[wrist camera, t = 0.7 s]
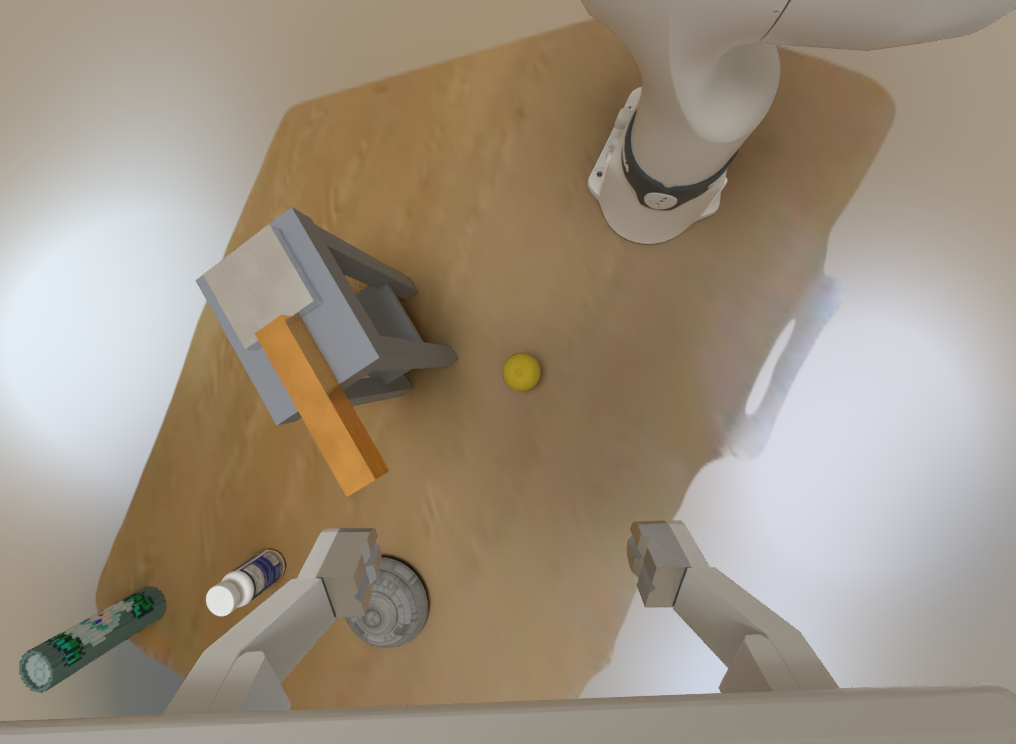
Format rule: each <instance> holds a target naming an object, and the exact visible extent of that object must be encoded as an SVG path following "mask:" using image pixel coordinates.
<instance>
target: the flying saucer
mask: <svg viewBox="0 0 1016 744" xmlns="http://www.w3.org/2000/svg"><path fill="white" fill-rule="evenodd" d="M370 586H371V590H372V596H371V599H370V602H369V605H368V608H367V612H366V615H365V616H358V617H345V618H346V620H347V622H348V624H349V626H350V628H351V629H352V631H353V632H354V633H355V634H356V635H357V636H358V637H359V638H360V639H361V640H363V641H364V642H366V643H368V644H370V645H372V646H376V647H380V648H394V647H398V646H402V645H404V644H406V643H408V642H410V641H411V640H413V639H414V638H415V637H416V636H417V635H418V634H419V633H420V631H421V630H422V628H423V626H424V624H425V621H426V618H427V613H428V601H427V596H426V592H425V589H424V587H423V585H422V583H421V581H420V580H419V578H418V577H417V575H416V574H415V573H414V572H413V571H412V570H411V569H410V568H408V567H407V566H406V565H404V564H403V563H401V562H399V561H396V560H394V559H390V558H383V557H381V563H380V569H379V573H378V576H377V579H376V580H375V581H374V582H373V583H372V584H371V585H370Z"/></svg>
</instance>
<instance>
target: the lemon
mask: <svg viewBox="0 0 1016 744" xmlns="http://www.w3.org/2000/svg"><path fill="white" fill-rule="evenodd" d="M502 374H503V379H504V381H505V383H506V384H507V385H508V386H509V387H510V388H512V389H514V390H516V391H527V390H529V389H531V388H533V387H534V386H535V385H536V384H537V383H538V381H539V379H540V374H541V370H540V366H539V363H538V362H537V360H536V359H535V358H534V357H532V356H531V355H529V354H525V353H518V354H515V355H513V356H511V357H509V358H508V359H507V360H506V362H505V364H504V366H503V371H502Z"/></svg>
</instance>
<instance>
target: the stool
mask: <svg viewBox="0 0 1016 744" xmlns="http://www.w3.org/2000/svg"><path fill="white" fill-rule="evenodd" d="M270 225H272V226H274V227H276V228H279V229H280V230H281V232H282V234H283V235H284V237H285V239H286V241H287V242H288V244H289V246H290V247H291V249H292V251H293V253H294V254H295V256H296V258H297V260H298V261H299V263H300V265H301V266H302V268H303V270H304V272H305V273H306V275H307V277H308V279H309V280H310V282H311V284H312V285H313V287H314V289H315V291H316V292H317V294H318V296H319V298H320V299H321V301H322V304H321V305H319V306H318V307H317V308H315V309H314V310H312V311H311V312H309V313H308V314H307V315H305V316H304V317H302V320H303V322H304V323H305V325H306V327H307V329H308V330H309V332H310V334H311V335H312V337H313V339H314V341H315V342H316V344H317V346H318V348H319V349H320V351H321V353H322V355H323V356H324V358H325V360H326V362H327V363H328V365H329V367H330V369H331V370H332V372H333V374H334V376H335V377H336V379H337V381H338V382H339V384H340V386H341V388H342V389H343V391H344V393H345V395H346V396H347V398H348V400H349V402H350V403H351V405H352V406H356V405H360V404H365V403H370V402H375V401H380V400H384V399H389V398H394V397H399V396H402V395H404V394H405V393H407V392H408V391H410V390H411V389H413V387H412V385H411V383H410V382H409V380H408V378H407V376H406V375H403V374H405V373H406V372H408V371H410V370H411V369H424V368H446V367H448V366H449V365H451V364H452V363H454V362H455V361H457V360H459V359H458V358H457V356H456V354H455V353H454V351H453V349H452V348H451V346H446V345H439V344H433V343H426V342H423V340H422V338H421V337H420V335H419V333H418V332H417V330H416V328H415V327H414V325H413V323H412V322H411V320H410V318H409V316H408V315H407V313H406V311H405V310H404V308H403V306H402V305H401V303H400V301H399V300H398V298H397V296H398V297H400V298H403V299H405V300H406V299H407V298H409V297H410V296H412V295H413V294H415V293H416V292H418V291H417V289H416V287H415V286H414V284H413V282H412V281H411V279H410V278H409V277H407V276H405V275H403V274H401V273H400V272H398V271H396V270H394V269H393V268H391V267H389V266H387V265H386V264H384V263H382V262H380V261H378V260H377V259H375V258H373V257H371V256H370V255H368V254H366V253H364V252H362V251H361V250H359V249H357V248H355V247H354V246H352V245H350V244H348V243H347V242H345V241H343V240H341V239H339V238H338V237H336V236H334V235H332V234H331V233H329V232H327V231H325V230H324V229H322V228H320V227H318V226H316V225H315V224H314V223H313V221H312V220H311V218H309V217H308V216H306V215H304V214H302V213H301V212H299V211H297V210H296V209H294V208H292V207H291V208H290V209H289V210H287V211H286V212H285V213H283V214H282V215H281V216H279V217H278V218H277V219H275V220H274V221H273V222H272V223H270ZM344 275H346V276H349V277H351V278H354V279H356V280H359V281H361V282H363V283H366V284H368V285H369V286H367V287H366V288H364V289H363V290H362V291H360V292H359V293H357V294H356V295H355V293H354V291H353V290H352V288H351V286H350V284H349V283H348V281H347V279H346V278H345V276H344ZM196 282H197V284H198V286H199V287H200V289H201V291H202V293H203V294H204V296H205V298H206V300H207V302H208V303H209V305H210V307H211V309H212V311H213V312H214V314H215V316H216V318H217V320H218V321H219V323H220V325H221V327H222V329H223V330H224V332H225V334H226V336H227V337H228V339H229V341H230V343H231V345H232V346H233V348H234V350H235V352H236V354H237V355H238V357H239V359H240V361H241V362H242V364H243V366H244V368H245V370H246V371H247V373H248V375H249V377H250V379H251V380H252V382H253V384H254V386H255V387H256V389H257V391H258V393H259V395H260V396H261V398H262V400H263V402H264V404H265V405H266V407H267V409H268V411H269V413H270V414H271V416H272V418H273V420H274V421H275V423H276V425H281V424H286V423H290V422H295V421H297V420H299V419H300V418H302V417H301V415H300V413H299V411H298V410H297V408H296V406H295V404H294V403H293V401H292V399H291V397H290V396H289V394H288V392H287V390H286V388H285V387H284V385H283V383H282V381H281V380H280V378H279V376H278V374H277V372H276V371H275V369H274V367H273V365H272V364H271V362H270V360H269V358H268V357H267V355H266V353H265V351H264V349H263V348H262V346H261V347H260V348H258V349H257V350H245V348H244V347H243V345H242V343H241V341H240V340H239V338H238V336H237V334H236V332H235V331H234V329H233V327H232V325H231V324H230V322H229V320H228V318H227V316H226V315H225V313H224V311H223V309H222V308H221V306H220V304H219V302H218V300H217V299H216V297H215V295H214V293H213V291H212V290H211V288H210V286H209V284H208V283H207V281H206V279H205V277H204V275H202V276H201V277H200V278H198V279H197V280H196ZM367 374H368V375H369V377H370V378H364V379H361V378H363V377H364V376H366V375H367Z"/></svg>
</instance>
